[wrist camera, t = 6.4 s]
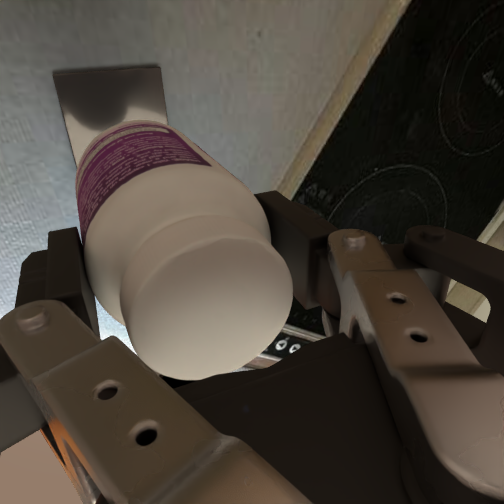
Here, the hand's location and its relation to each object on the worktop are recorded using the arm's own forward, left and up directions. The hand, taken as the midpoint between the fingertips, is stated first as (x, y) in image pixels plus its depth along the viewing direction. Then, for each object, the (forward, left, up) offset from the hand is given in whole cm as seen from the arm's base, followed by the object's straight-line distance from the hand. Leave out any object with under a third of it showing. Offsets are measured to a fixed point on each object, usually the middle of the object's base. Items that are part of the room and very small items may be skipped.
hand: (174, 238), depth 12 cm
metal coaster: (0, 0, -18) cm, 18 cm away
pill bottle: (0, 0, -6) cm, 6 cm away
